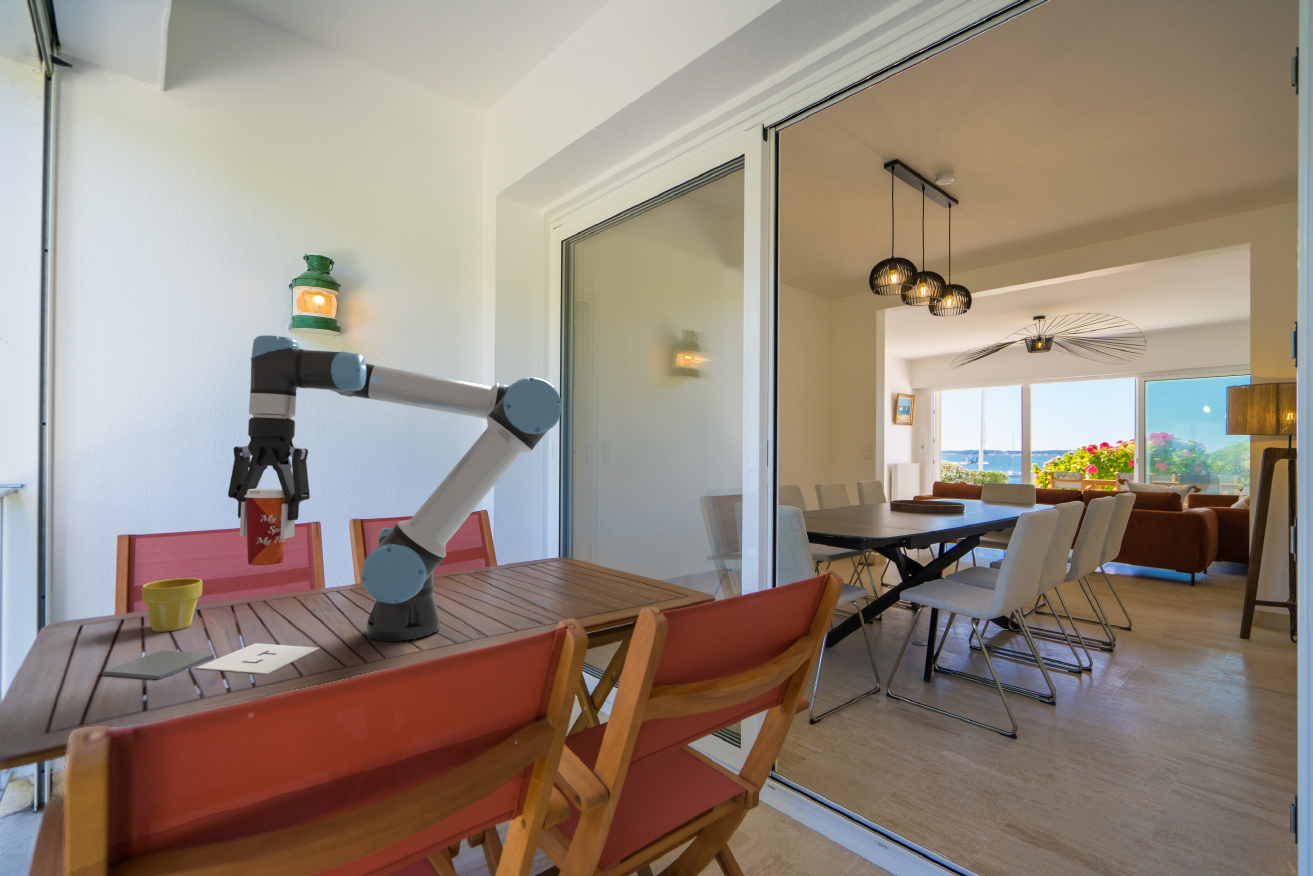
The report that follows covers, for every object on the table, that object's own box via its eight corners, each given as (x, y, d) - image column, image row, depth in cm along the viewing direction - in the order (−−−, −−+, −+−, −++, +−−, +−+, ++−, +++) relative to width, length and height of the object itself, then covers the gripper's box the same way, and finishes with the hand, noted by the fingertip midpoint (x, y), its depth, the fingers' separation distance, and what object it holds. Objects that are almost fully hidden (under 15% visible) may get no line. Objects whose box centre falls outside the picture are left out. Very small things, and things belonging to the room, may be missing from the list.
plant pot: (128, 630, 128) (130, 584, 128) (182, 618, 137) (184, 575, 138) (158, 637, 124) (160, 590, 124) (211, 624, 134) (213, 580, 134)
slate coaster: (213, 657, 114) (213, 654, 114) (160, 679, 103) (160, 675, 103) (161, 653, 115) (161, 650, 115) (102, 674, 104) (102, 671, 104)
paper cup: (265, 567, 110) (269, 491, 110) (230, 564, 112) (234, 489, 112) (299, 560, 118) (302, 489, 118) (266, 557, 119) (269, 487, 120)
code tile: (319, 648, 121) (319, 647, 121) (267, 674, 107) (267, 673, 107) (255, 644, 122) (255, 643, 122) (195, 668, 108) (195, 667, 108)
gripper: (334, 419, 118) (330, 536, 118) (238, 417, 120) (233, 531, 120) (308, 417, 111) (303, 542, 110) (207, 414, 113) (201, 536, 112)
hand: (267, 536), depth 115 cm, fingers closed on paper cup, 8 cm apart
